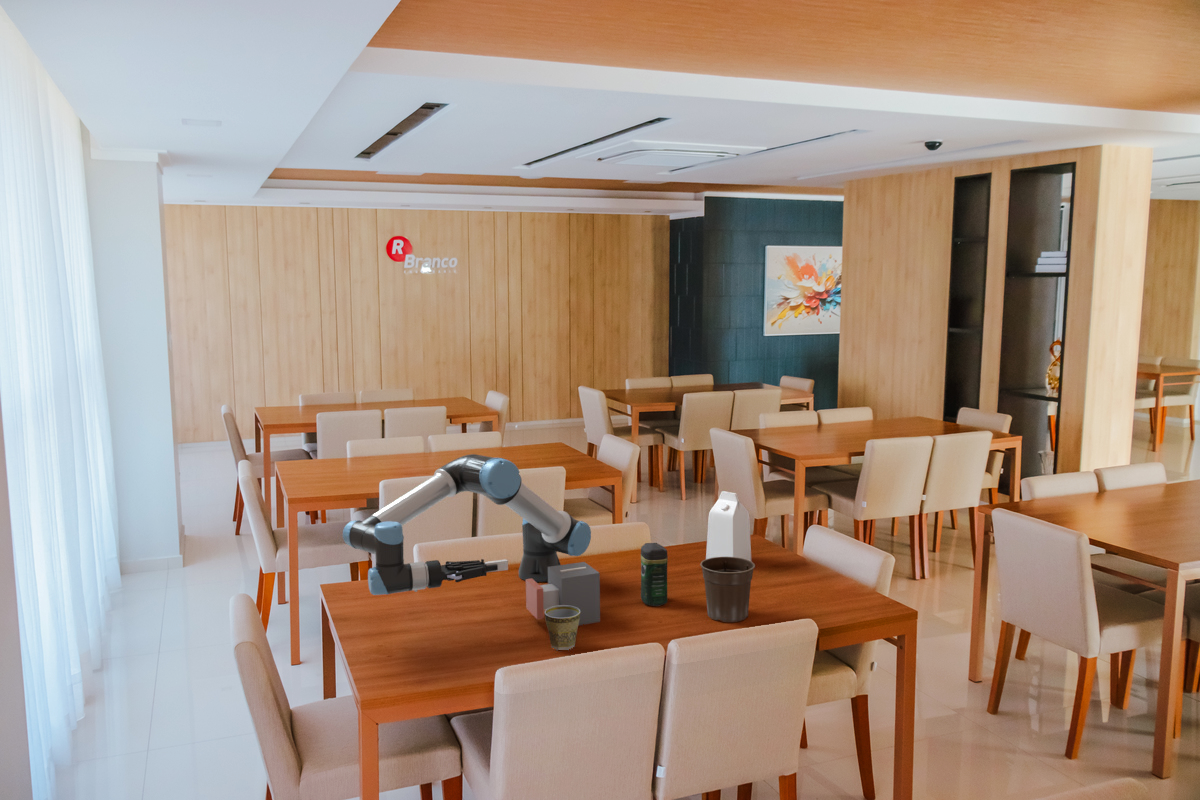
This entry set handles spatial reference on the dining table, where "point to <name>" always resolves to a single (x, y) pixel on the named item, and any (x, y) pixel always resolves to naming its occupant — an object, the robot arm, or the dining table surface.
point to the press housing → (578, 589)
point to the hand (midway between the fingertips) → (507, 564)
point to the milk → (728, 528)
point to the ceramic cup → (562, 626)
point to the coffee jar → (654, 574)
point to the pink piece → (540, 597)
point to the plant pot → (727, 587)
